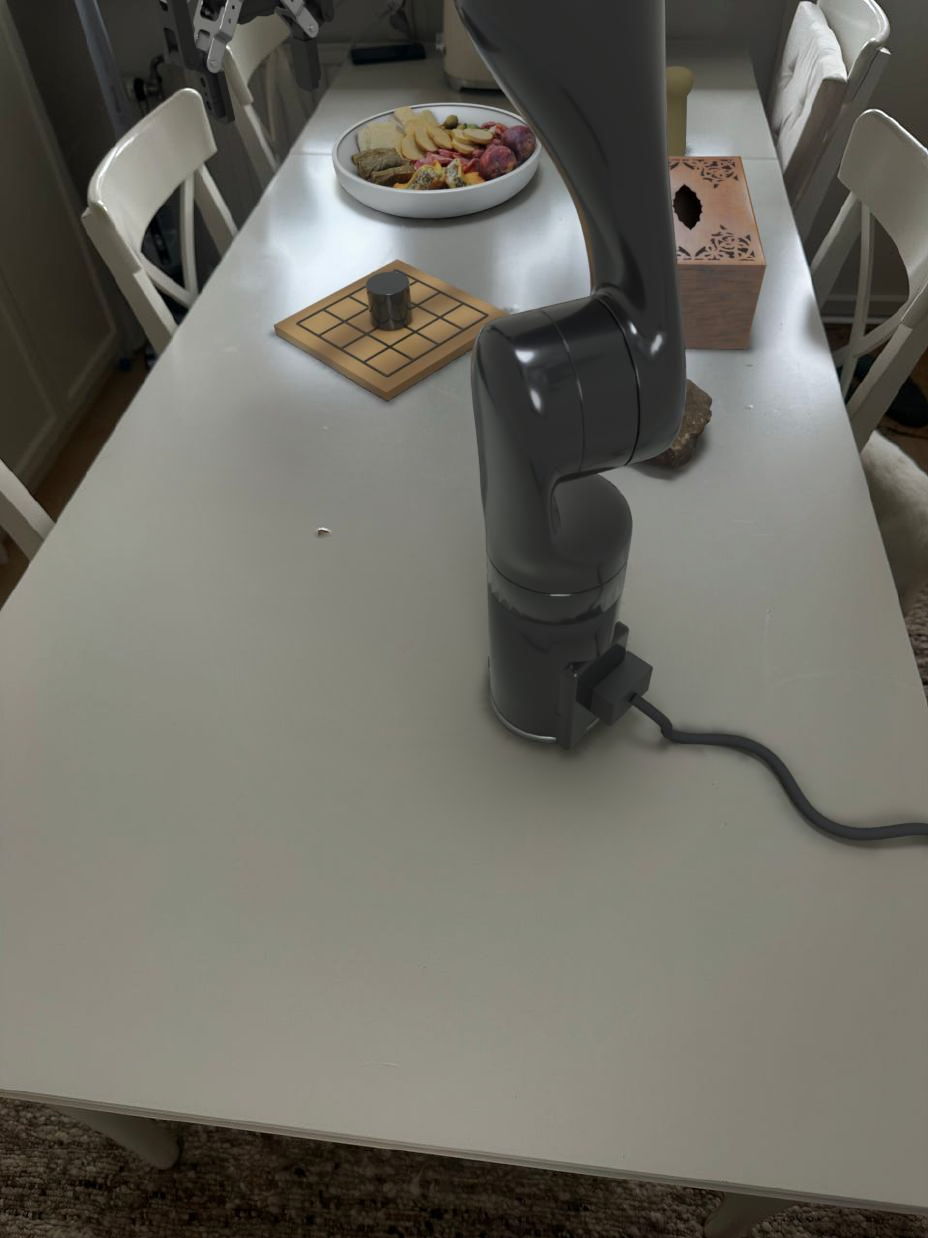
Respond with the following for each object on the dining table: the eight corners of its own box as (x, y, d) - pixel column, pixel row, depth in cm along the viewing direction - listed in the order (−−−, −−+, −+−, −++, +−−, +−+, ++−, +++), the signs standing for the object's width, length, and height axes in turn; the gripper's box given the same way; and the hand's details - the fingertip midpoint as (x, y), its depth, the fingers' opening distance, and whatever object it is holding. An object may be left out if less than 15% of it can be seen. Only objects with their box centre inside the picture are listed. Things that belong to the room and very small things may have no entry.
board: (511, 323, 102) (511, 313, 101) (387, 401, 94) (385, 390, 93) (398, 267, 112) (397, 257, 111) (275, 333, 103) (273, 323, 102)
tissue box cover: (613, 235, 115) (621, 156, 107) (725, 235, 113) (740, 155, 105) (616, 346, 98) (625, 263, 91) (746, 349, 97) (766, 264, 89)
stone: (675, 488, 84) (692, 440, 79) (546, 436, 87) (555, 387, 83) (710, 434, 90) (727, 387, 85) (588, 388, 93) (598, 340, 89)
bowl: (312, 223, 120) (301, 165, 114) (365, 133, 139) (358, 78, 133) (525, 234, 116) (526, 173, 110) (551, 139, 134) (553, 83, 128)
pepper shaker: (637, 148, 131) (645, 66, 122) (671, 139, 132) (682, 57, 124) (659, 163, 127) (669, 80, 119) (693, 154, 129) (706, 71, 120)
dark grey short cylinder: (421, 316, 102) (418, 281, 98) (390, 335, 100) (385, 299, 96) (393, 302, 104) (388, 266, 101) (361, 319, 102) (356, 283, 98)
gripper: (154, -133, 53) (223, 146, 66) (332, -174, 59) (363, 88, 72) (92, -147, 56) (168, 121, 69) (266, -184, 63) (307, 68, 75)
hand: (267, 104), depth 70 cm, fingers open, 8 cm apart
